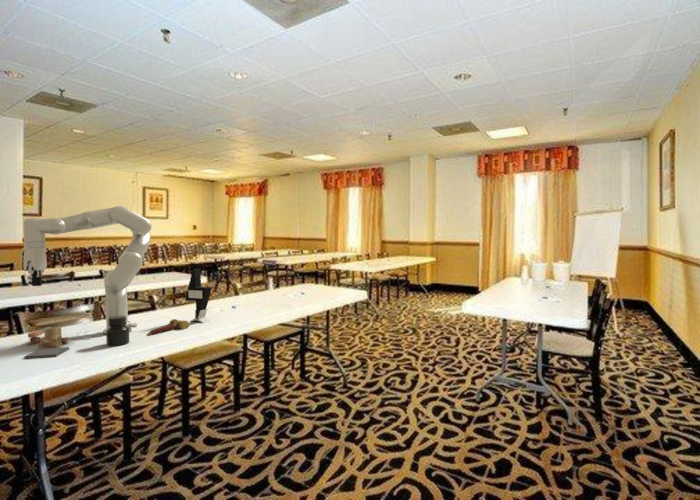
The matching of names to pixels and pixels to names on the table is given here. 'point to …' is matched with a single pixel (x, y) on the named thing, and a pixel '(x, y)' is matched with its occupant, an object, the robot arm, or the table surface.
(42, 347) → the cradle
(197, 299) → the award
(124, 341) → the ink bottle
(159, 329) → the gavel
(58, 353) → the mat
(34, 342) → the lever base
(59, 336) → the block
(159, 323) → the table surface
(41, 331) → the cutter lever
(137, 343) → the table surface
